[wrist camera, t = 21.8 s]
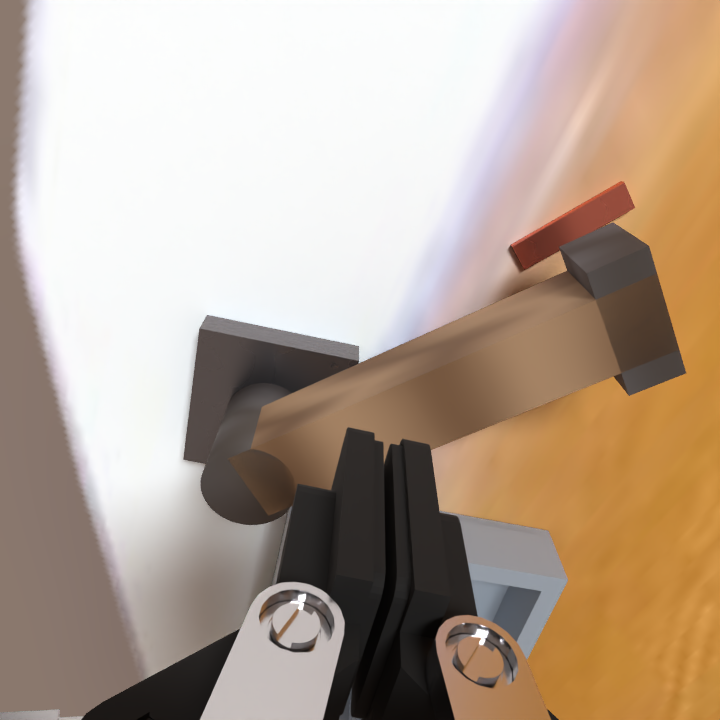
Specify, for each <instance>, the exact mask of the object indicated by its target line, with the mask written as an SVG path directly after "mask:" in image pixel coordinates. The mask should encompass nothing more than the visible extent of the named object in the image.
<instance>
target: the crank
mask: <svg viewBox="0 0 720 720" xmlns="http://www.w3.org/2000/svg"><path fill="white" fill-rule="evenodd" d="M559 249H560V251H561V254H562V257H563V260H564V262H565V265H566V268H567V271H566V272H563V273H561V274H559V275H557V276H554V277H552V278H550V279H548V280H545V281H543V282H541V283H539V284H536V285H534V286H532V287H530V288H527V289H525V290H523V291H521V292H518V293H516V294H514V295H512V296H509V297H507V298H505V299H503V300H500V301H498V302H496V303H494V304H492V305H489V306H487V307H485V308H483V309H480V310H478V311H476V312H474V313H471V314H469V315H467V316H465V317H462V318H460V319H458V320H456V321H453V322H451V323H449V324H447V325H444V326H442V327H440V328H438V329H435V330H433V331H431V332H429V333H426V334H424V335H422V336H420V337H417V338H415V339H413V340H411V341H408V342H406V343H404V344H402V345H399V346H397V347H395V348H393V349H390V350H388V351H386V352H384V353H382V354H379V355H377V356H375V357H373V358H370V359H368V360H366V361H364V362H361V363H359V364H357V365H355V366H352V367H350V368H348V369H346V370H343V371H341V372H339V373H337V374H334V375H332V376H330V377H328V378H325V379H323V380H321V381H319V382H316V383H314V384H312V385H310V386H307V387H305V388H303V389H301V390H298V391H296V392H294V393H292V392H290V391H289V390H287V389H285V388H283V387H281V386H278V385H275V384H270V383H257V384H252V385H249V386H246V387H244V388H242V389H241V390H239V391H238V392H237V393H236V394H234V395H233V397H232V398H231V400H230V401H229V403H228V406H227V409H226V411H225V414H224V417H223V420H222V422H221V425H220V428H219V430H218V433H217V436H216V438H215V441H214V444H213V447H212V449H211V452H210V455H209V457H208V460H207V463H206V465H205V468H204V471H203V474H202V477H201V491H202V494H203V497H204V499H205V501H206V502H207V504H208V505H209V506H210V507H211V509H212V510H214V511H215V512H216V513H217V514H219V515H220V516H222V517H223V518H225V519H227V520H230V521H232V522H236V523H240V524H246V525H258V524H264V523H268V522H271V521H274V520H276V519H278V518H279V517H281V516H282V515H284V514H285V513H286V512H287V511H288V510H289V509H290V507H291V506H292V505H293V501H294V497H295V492H296V488H297V484H303V485H308V486H312V487H317V488H322V489H327V490H331V488H332V484H333V480H334V476H335V472H336V468H337V465H338V461H339V457H340V453H341V449H342V445H343V441H344V437H345V434H346V430H347V428H348V427H350V428H355V429H359V430H364V431H369V432H374V434H375V440H377V441H382V442H383V444H384V462H385V459H386V455H387V452H388V449H389V446H390V444H396V445H399V444H400V442H401V440H402V439H407V440H412V441H416V442H421V443H426V444H429V445H430V449H431V450H432V449H435V448H437V447H440V446H442V445H445V444H447V443H450V442H452V441H455V440H457V439H460V438H462V437H464V436H467V435H469V434H472V433H474V432H477V431H479V430H482V429H484V428H487V427H489V426H492V425H494V424H497V423H499V422H502V421H504V420H507V419H509V418H511V417H514V416H516V415H519V414H521V413H524V412H526V411H529V410H531V409H534V408H536V407H539V406H541V405H544V404H546V403H549V402H551V401H554V400H556V399H558V398H561V397H563V396H566V395H568V394H571V393H573V392H576V391H578V390H581V389H583V388H586V387H588V386H591V385H593V384H596V383H598V382H601V381H603V380H605V379H608V378H610V377H613V376H614V377H615V379H616V380H617V381H618V383H619V384H620V385H621V386H622V388H623V389H624V390H625V391H626V393H627V394H628V395H629V396H630V395H632V394H635V393H637V392H640V391H642V390H645V389H647V388H650V387H652V386H655V385H657V384H660V383H662V382H665V381H668V380H670V379H673V378H675V377H678V376H680V375H683V374H685V373H686V371H685V368H684V364H683V361H682V357H681V354H680V351H679V347H678V344H677V340H676V337H675V334H674V330H673V327H672V323H671V320H670V316H669V313H668V310H667V306H666V303H665V299H664V296H663V292H662V289H661V286H660V282H659V279H658V275H657V272H656V269H655V265H654V262H653V258H652V255H651V251H650V248H649V246H648V245H647V244H645V243H644V242H642V241H641V240H639V239H638V238H636V237H635V236H633V235H631V234H630V233H628V232H627V231H625V230H624V229H622V228H621V227H619V226H618V225H616V224H615V223H610V224H608V225H606V226H604V227H602V228H599V229H597V230H595V231H593V232H591V233H588V234H586V235H584V236H582V237H580V238H577V239H575V240H573V241H571V242H569V243H566V244H564V245H562V246H560V247H559Z"/></svg>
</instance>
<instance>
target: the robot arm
mask: <svg viewBox="0 0 720 720" xmlns="http://www.w3.org/2000/svg"><path fill="white" fill-rule="evenodd" d="M351 688H352V691H351ZM350 691H351V716H352V717H354V718H360V719H361V720H558V719H557V718H556V717H555V716H554V715H553V714H552V713H551V712H550V711H549V710H548V709H547V708H546V706H545V704H544V701H543V699H542V696H541V694H540V691H539V689H538V686H537V684H536V682H535V679H534V677H533V674H532V672H531V669H530V667H529V664H528V662H527V660H526V657H525V655H524V653H523V652H522V650H521V648H520V646H519V645H518V643H517V642H516V641H515V640H514V639H513V638H512V637H511V636H510V634H509V633H508V632H506V631H505V630H504V629H502V628H501V627H499V626H498V625H497V624H495V623H493V622H491V621H488V620H486V619H484V618H481V617H478V615H477V609H476V604H475V599H474V593H473V588H472V582H471V577H470V572H469V566H468V561H467V555H466V550H465V545H464V539H463V534H462V528H461V523H460V520H459V518H458V517H457V516H455V515H450V514H445V513H440V512H439V505H438V498H437V491H436V484H435V477H434V470H433V463H432V456H431V449H430V445H429V444H426V443H421V442H416V441H412V440H407V439H402V440H401V442H400V444H399V445H396V444H390V446H389V449H388V452H387V455H386V459H385V462H384V444H383V442H382V441H377V440H375V434H374V432H369V431H364V430H359V429H355V428H350V427H348V428H347V430H346V434H345V437H344V441H343V445H342V449H341V453H340V457H339V461H338V465H337V468H336V472H335V476H334V480H333V484H332V488H331V490H327V489H322V488H317V487H312V486H308V485H303V484H297V488H296V492H295V497H294V501H293V505H292V510H291V514H290V519H289V523H288V528H287V532H286V537H285V542H284V546H283V551H282V556H281V561H280V566H279V571H278V576H277V581H276V585H273V586H270V587H268V588H267V589H265V590H264V591H262V592H261V593H260V594H258V595H257V597H256V598H255V600H254V601H253V603H252V604H251V606H250V608H249V611H248V613H247V615H246V617H245V620H244V622H243V624H242V626H241V629H239V630H237V631H235V632H233V633H231V634H229V635H228V636H226V637H224V638H222V639H220V640H218V641H216V642H214V643H213V644H211V645H209V646H207V647H205V648H203V649H201V650H199V651H198V652H196V653H194V654H192V655H190V656H188V657H186V658H184V659H183V660H181V661H179V662H177V663H175V664H173V665H171V666H169V667H168V668H166V669H164V670H162V671H160V672H158V673H156V674H154V675H153V676H151V677H149V678H147V679H145V680H143V681H141V682H139V683H138V684H136V685H134V686H132V687H130V688H128V689H126V690H125V691H123V692H121V693H119V694H117V695H115V696H113V697H111V698H110V699H108V700H106V701H104V702H102V703H101V704H99V705H98V706H96V707H95V708H94V709H92V710H91V711H89V712H88V713H86V715H85V716H79V717H61V718H59V712H60V710H41V711H40V710H39V711H21V712H1V713H0V720H339V718H340V715H342V714H343V712H344V709H345V706H346V703H347V700H348V697H349V694H350Z"/></svg>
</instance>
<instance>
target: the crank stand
mask: <svg viewBox="0 0 720 720" xmlns="http://www.w3.org/2000/svg"><path fill="white" fill-rule="evenodd" d="M634 208H635V206H634V204H633V202H632V199H631V197H630V195H629V192H628V190H627V188H626V185H625V183H624V182H622V181H621V182H619V183H617V184H616V185H614V186H612V187H610V188H609V189H607V190H605V191H603V192H602V193H600V194H598V195H597V196H595V197H593V198H591V199H590V200H588V201H586V202H584V203H583V204H581V205H579V206H577V207H576V208H574V209H572V210H570V211H569V212H567V213H565V214H563V215H562V216H560V217H558V218H557V219H555V220H553V221H551V222H550V223H548V224H546V225H544V226H543V227H541V228H539V229H537V230H536V231H534V232H532V233H530V234H529V235H527V236H525V237H524V238H522V239H520V240H518V241H517V242H515V243H513V244H511V246H512V248H513V250H514V252H515V254H516V256H517V258H518V260H519V261H520V263H521V265H522V267H523V269H524V270H525V269H527V268H529V267H531V266H532V265H534V264H536V263H538V262H539V261H541V260H543V259H545V258H547V257H548V256H550V255H552V254H554V253H555V252H557V251H559V250H560V249H559V247H560V246H562V245H564V244H566V243H569V242H571V241H573V240H575V239H577V238H580V237H582V236H584V235H586V234H588V233H591V232H593V231H595V230H596V229H598V228H600V227H602V226H604V225H605V224H607V223H609V222H611V221H612V220H614V219H616V218H618V217H620V216H621V215H623V214H625V213H627V212H628V211H630V210H632V209H634ZM358 362H359V346H355V345H350V344H345V343H340V342H335V341H330V340H326V339H321V338H316V337H311V336H306V335H301V334H297V333H292V332H287V331H282V330H277V329H272V328H267V327H263V326H258V325H253V324H248V323H243V322H238V321H233V320H229V319H224V318H219V317H214V316H209V315H207V316H206V318H205V320H204V322H203V323H202V325H201V327H200V329H199V337H198V345H197V354H196V362H195V370H194V378H193V386H192V394H191V402H190V410H189V419H188V427H187V435H186V443H185V451H184V459H183V460H189V461H194V462H200V463H205V464H206V463H207V460H208V457H209V455H210V452H211V449H212V447H213V444H214V441H215V438H216V436H217V433H218V430H219V428H220V425H221V422H222V420H223V417H224V414H225V411H226V409H227V406H228V403H229V401H230V400H231V398H232V397H233V395H234V394H236V393H237V392H238V391H239V390H241V389H242V388H244V387H246V386H249V385H252V384H257V383H270V384H275V385H278V386H281V387H283V388H285V389H287V390H289V391H290V392H292V393H294V392H296V391H298V390H301V389H303V388H305V387H307V386H310V385H312V384H314V383H316V382H319V381H321V380H323V379H325V378H328V377H330V376H332V375H334V374H337V373H339V372H341V371H343V370H346V369H348V368H350V367H352V366H355V365H357V364H358Z"/></svg>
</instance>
